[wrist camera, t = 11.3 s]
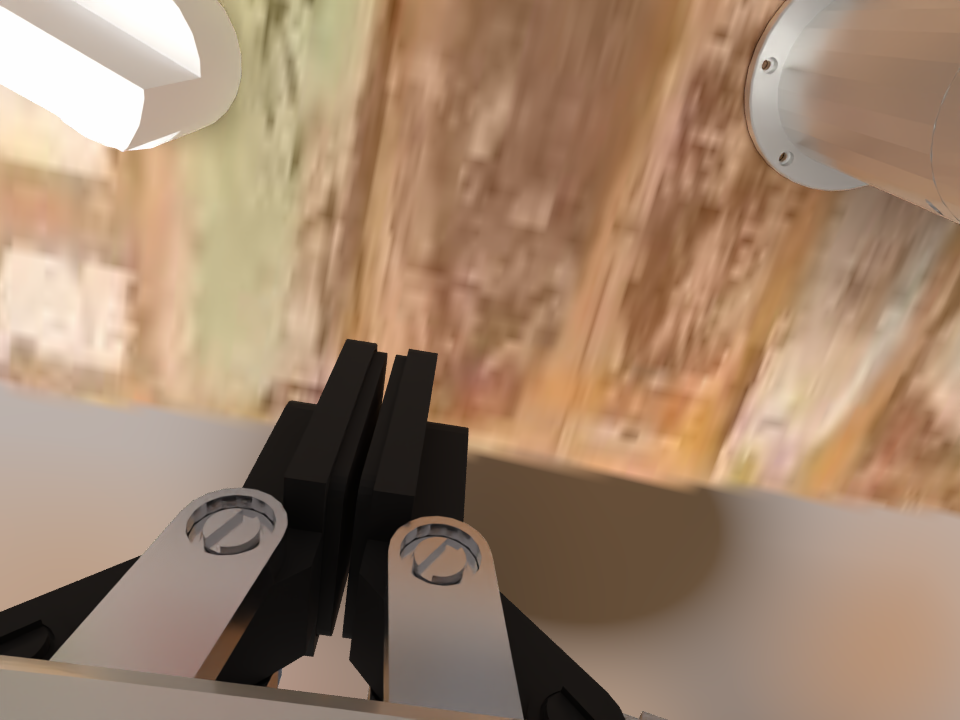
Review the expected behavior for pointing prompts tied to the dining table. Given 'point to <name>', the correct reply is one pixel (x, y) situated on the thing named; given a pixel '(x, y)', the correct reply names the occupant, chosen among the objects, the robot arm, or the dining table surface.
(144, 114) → the cylinder with rectangular tab
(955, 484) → the dining table surface
